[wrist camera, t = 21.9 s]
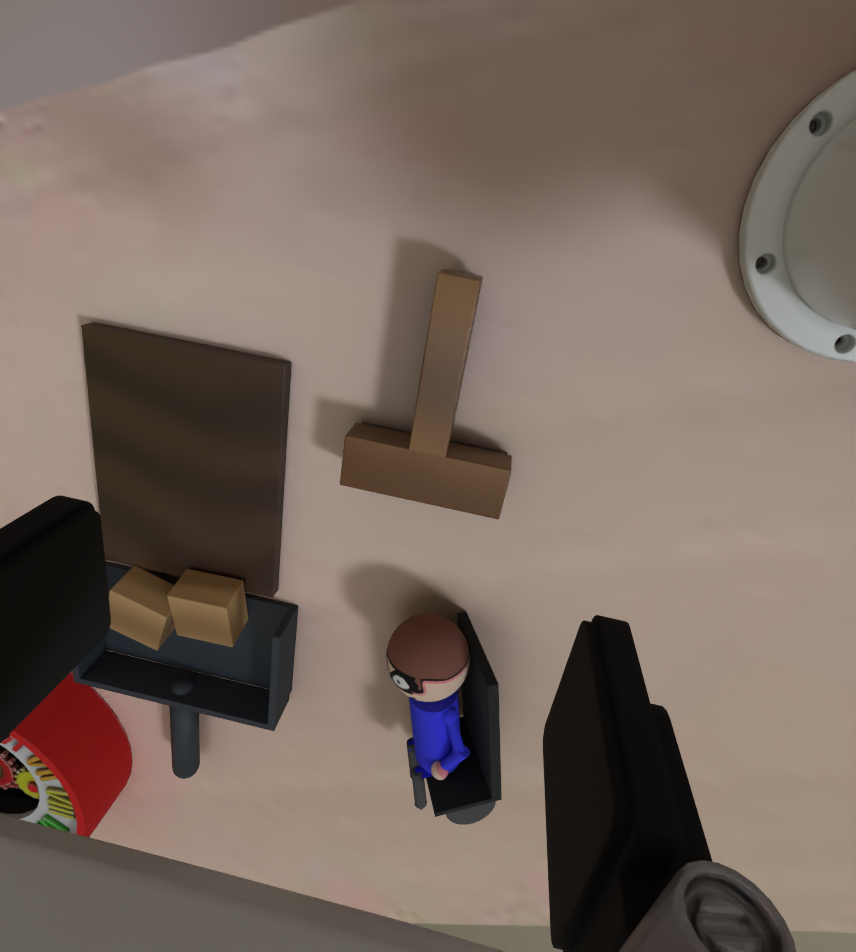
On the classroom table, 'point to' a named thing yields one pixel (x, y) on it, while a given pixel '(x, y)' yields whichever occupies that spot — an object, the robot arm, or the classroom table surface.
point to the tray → (188, 454)
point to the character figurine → (449, 715)
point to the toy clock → (65, 761)
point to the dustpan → (189, 693)
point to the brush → (433, 423)
